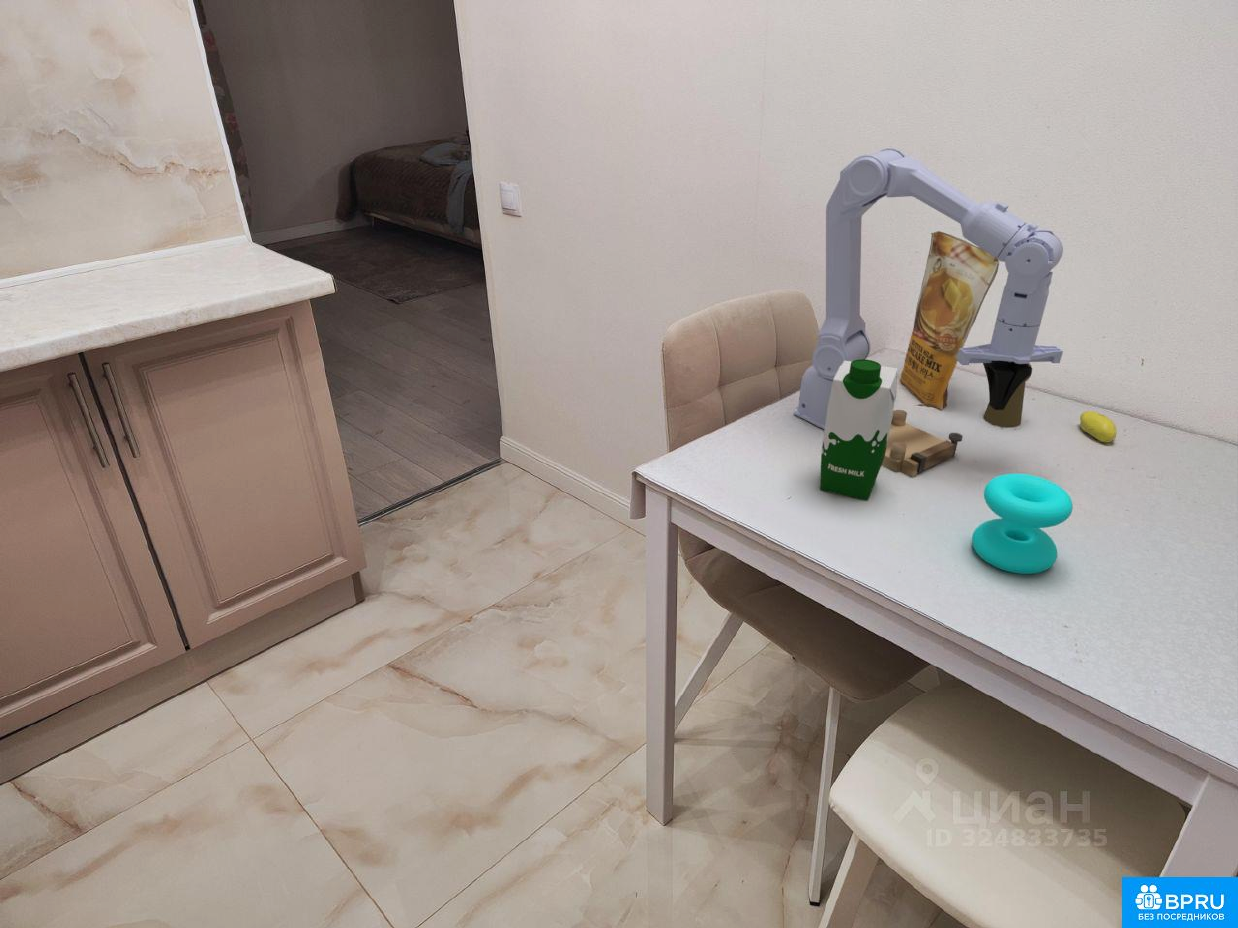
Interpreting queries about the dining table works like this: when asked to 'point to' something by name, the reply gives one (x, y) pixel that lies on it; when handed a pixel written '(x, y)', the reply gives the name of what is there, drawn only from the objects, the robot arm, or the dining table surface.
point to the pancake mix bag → (945, 314)
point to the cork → (1008, 410)
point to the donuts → (1021, 523)
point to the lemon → (1098, 426)
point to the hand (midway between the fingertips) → (996, 407)
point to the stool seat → (909, 444)
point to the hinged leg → (933, 455)
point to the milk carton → (857, 427)
